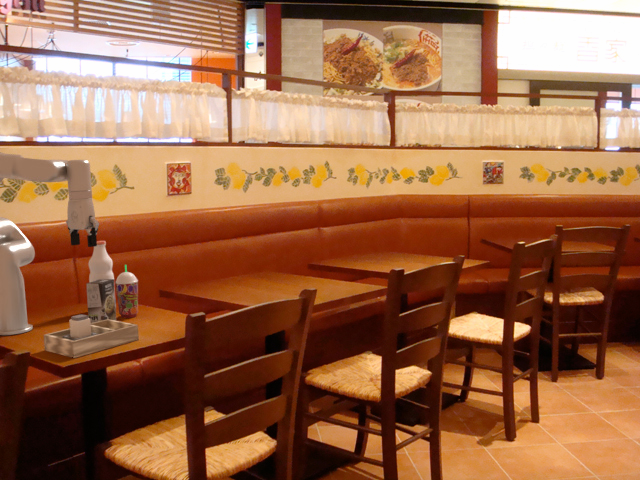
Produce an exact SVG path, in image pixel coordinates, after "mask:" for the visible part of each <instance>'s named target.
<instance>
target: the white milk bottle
mask: <svg viewBox="0 0 640 480" xmlns="http://www.w3.org/2000/svg"><path fill="white" fill-rule="evenodd" d="M106 245H107V242H106V240H97V246H94V247H93V252H92V255H91V257H90V258H89V261H88V268H89V272H90V273H89V277H88V281H89V282H92V281H96V280H99V279H114V280H115V274H114V272H113V267H114V266H113V265H114V261H113V259H112V258H111V257H110V255H109V253H108V252H107V248H106ZM89 282H88V283H89ZM114 290H115V291H116V284H114ZM115 306H116V307H117V303H116V299H115Z"/></svg>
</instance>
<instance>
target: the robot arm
mask: <svg viewBox="0 0 640 480" xmlns="http://www.w3.org/2000/svg"><path fill="white" fill-rule="evenodd" d="M91 175H92V174H91V163H90V162H89V160H87V159H70V160H67V159H41V158H29V157H28V158H27V157H24V156H23V155H21V154H15V153H14V154H13V153H5V152H0V182H1V181H3V180H4V179H11V180H19V181H27V182H28V181H29V182H37V183H59V182H67V189H68V190H67V191H68V193H67V194H68V201H67V220H66V221H65V222H66V225H67V230H68V233H69V236H70V245H71V246H79V245H81V239H80V237H81V236H80V233H79V231H80V230H82V231H83V230H85V231H86V232H87V235H86V237H87V247H88V248H92V247H93V248H94V246H97V241H98V240H97V235H98V230H99V226H100V222H99V221H98V220H97V219H96V211H95V206H94V203H93V201H94V200H93V191H92V188H93V187H92V176H91ZM35 257H36V252H35V247H34V246H33V243H32V242H31V241H30V240H29V239H28V238H27V236H26V235H25V234H24V233H23V232H22V231H21V229H20V228H19V227H18V226H17V225H16V224H15V223H14V222H13V221H12V220H11V219H9V218H6V217H3V216H0V336H11V335H13V336H14V335H19V334H23V333H28V332H29V331H32V330H33V328H34V327H33V324H32V323H31V324H30V323H28V314H27V313H28V312H27V300H26V298H27V297H26V291H25V289H26V287H25V278H24V276H23V274H22V273H23V272H22V270H21V267H23V266H27V265H29V264H30V263H32V262H33V261H34V259H35Z"/></svg>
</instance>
